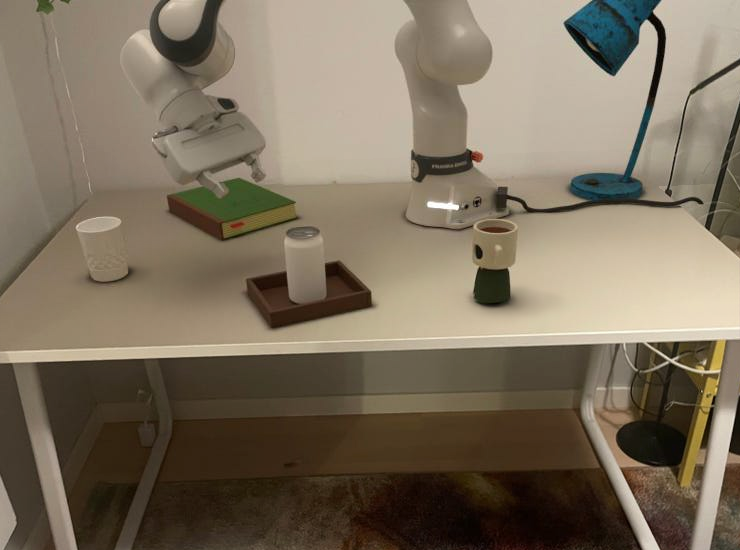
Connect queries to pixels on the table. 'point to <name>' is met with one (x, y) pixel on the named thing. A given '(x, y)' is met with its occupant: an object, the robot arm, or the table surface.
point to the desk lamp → (610, 51)
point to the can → (305, 264)
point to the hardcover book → (232, 208)
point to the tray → (280, 310)
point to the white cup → (103, 248)
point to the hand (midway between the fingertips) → (243, 187)
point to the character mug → (493, 258)
